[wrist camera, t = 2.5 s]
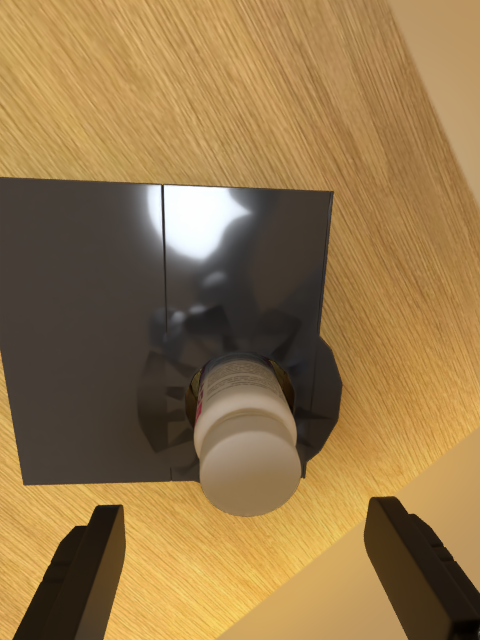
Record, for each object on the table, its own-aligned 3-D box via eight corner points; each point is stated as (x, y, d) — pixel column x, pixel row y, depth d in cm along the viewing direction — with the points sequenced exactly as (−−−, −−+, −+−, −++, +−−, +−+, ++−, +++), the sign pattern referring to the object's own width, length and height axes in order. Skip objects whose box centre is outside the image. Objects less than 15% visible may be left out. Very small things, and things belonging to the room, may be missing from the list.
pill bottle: (187, 361, 20) (167, 450, 12) (258, 332, 20) (288, 402, 12) (217, 423, 21) (218, 541, 13) (284, 396, 21) (327, 499, 13)
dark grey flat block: (343, 198, 18) (367, 192, 15) (315, 453, 23) (330, 486, 20) (11, 184, 17) (-31, 175, 14) (50, 459, 21) (24, 495, 18)
